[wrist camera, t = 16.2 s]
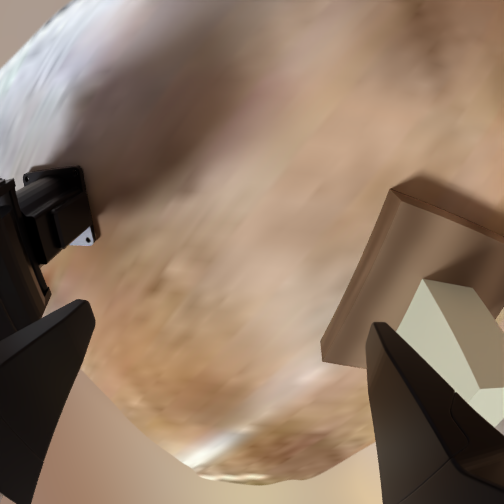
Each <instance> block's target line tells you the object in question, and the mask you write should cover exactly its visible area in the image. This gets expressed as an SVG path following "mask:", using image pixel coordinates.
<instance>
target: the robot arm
mask: <svg viewBox="0 0 504 504" xmlns="http://www.w3.org/2000/svg"><path fill="white" fill-rule="evenodd" d="M75 170H76V171H77V175H76V173H75ZM28 178H29V180H28ZM23 182H24V187H23V188H21V189H20V190H18V191H15V186H16V185H15V181H14V178H13V179H9V180H5V179H2V178H0V501H1V499H2V497H3V495H4V496H5V497H7V498H8V499H10V500H12V501H13V502H15V503H16V504H31V502H32V498H33V495H34V492H35V488H36V485H37V481H38V478H39V475H40V472H41V469H42V466H43V463H44V462H43V461H44V459H45V456H46V453H47V450H48V447H49V445H50V442H51V439H52V436H53V433H54V431H55V428H56V426H57V423H58V420H59V418H60V415H61V413H62V410H63V407H64V405H65V403H66V400H67V398H68V395H69V393H70V390H71V388H72V386H73V383H74V381H75V379H76V376H77V374H78V372H79V370H80V367H81V365H82V362H83V360H84V357H85V354H86V351H87V348H88V345H89V342H90V339H91V336H92V333H93V331H94V328H95V317H94V314H93V311H92V309H91V306H90V303H89V302H88V301H87V300H81V299H77V300H75V301H73V302H71V303H69V304H67V305H65V306H63V307H62V308H60V309H58V310H56V311H54V312H52V313H50V314H49V315H47V316H45V317H43V318H42V315H43V313H44V311H45V308H46V306H47V304H48V301H49V299H50V297H51V291H50V289H49V287H47V285H46V282H45V280H44V277H43V275H42V272H41V270H40V268H41V267H42V266H43V265H44V264H47V263H48V262H49V261H50V260H52V259H53V258H54V257H55V256H56V255H57V254H58V253H59V252H60V251H61V250H62V249H65V248H66V247H67V246H68V245H82V246H91V245H92V244H93V243H94V242H95V240H96V238H95V234H94V229H93V224H92V218H91V213H90V208H89V203H88V197H87V194H86V188H85V182H84V176H83V171H82V168H81V167H80V166H69V167H61V168H53V169H46V170H39V171H33V172H28V173H26V174H24V175H23ZM88 238H90V240H91V241H90V240H89V239H88ZM365 351H366V365H367V382H368V394H369V401H370V407H371V413H372V419H373V426H374V433H375V440H376V447H377V454H378V462H379V470H380V480H381V489H382V500H383V504H504V435H503V434H502V433H500V432H499V431H498V430H497V429H496V428H495V427H494V426H492V425H491V424H490V423H489V422H488V421H486V420H485V419H484V418H483V417H482V416H481V415H480V414H479V413H478V412H476V411H475V410H474V409H473V408H472V407H471V406H470V405H469V404H468V403H467V402H466V401H465V400H464V399H463V398H462V397H461V396H460V395H459V394H458V393H457V392H455V390H454V389H453V388H452V387H451V386H450V385H449V384H448V383H447V382H446V381H445V380H444V379H443V378H442V377H441V376H440V375H439V374H438V373H437V372H436V371H435V370H434V369H433V368H432V367H431V366H430V365H429V364H428V363H427V362H426V361H425V360H424V359H423V358H422V357H421V356H420V355H419V354H418V353H417V352H416V351H415V350H414V349H413V348H412V347H411V346H410V345H409V344H408V343H407V342H406V341H405V340H404V339H403V338H402V337H401V336H400V335H399V334H398V333H397V332H396V331H395V330H394V329H393V328H392V327H390V326H389V325H388V324H387V323H386V322H373V323H372V324H371V326H370V330H369V333H368V337H367V340H366V345H365Z"/></svg>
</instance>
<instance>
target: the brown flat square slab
mask: <svg viewBox="0 0 504 504" xmlns="http://www.w3.org/2000/svg"><path fill="white" fill-rule="evenodd" d="M422 279H427V280H433V281H438V282H443V283H449V284H454V285H460V286H465V287H470V288H473V289H474V290H475V292H476V293H477V295H478V296H479V297H480V299H481V300H482V302H483V303H484V304H485V306H486V307H487V309H488V310H489V312H490V313H491V315H492V316H493V318H494V319H496V318H497V316H498V315H499V313H500V312H501V310H502V309H503V307H504V237H502V236H500V235H498V234H496V233H494V232H492V231H490V230H488V229H486V228H484V227H481V226H479V225H477V224H475V223H473V222H470V221H468V220H466V219H464V218H461V217H459V216H457V215H454V214H452V213H450V212H447V211H445V210H443V209H440V208H438V207H435V206H433V205H430V204H428V203H425V202H423V201H420V200H418V199H415V198H413V197H410V196H407V195H405V194H402V193H400V192H397V191H394V190H391V189H389V192H388V195H387V197H386V200H385V202H384V205H383V207H382V210H381V212H380V215H379V217H378V220H377V222H376V224H375V227H374V229H373V231H372V234H371V236H370V239H369V241H368V243H367V245H366V248H365V250H364V252H363V255H362V257H361V259H360V261H359V263H358V266H357V268H356V270H355V272H354V274H353V277H352V279H351V281H350V283H349V285H348V287H347V289H346V291H345V293H344V295H343V298H342V300H341V302H340V304H339V306H338V308H337V310H336V312H335V314H334V316H333V318H332V320H331V322H330V324H329V326H328V328H327V329H326V331H325V333H324V335H323V337H322V339H321V341H320V342H321V352H322V362H328V363H333V364H339V365H345V366H351V367H357V368H364V369H367V365H366V351H365V345H366V340H367V337H368V333H369V330H370V326H371V324H372V323H373V322H386V323H387V324H388V325H389V326H390V327H392V328H393V329H394V330H395V331H397V329H398V327H399V325H400V323H401V322H402V320H403V318H404V316H405V314H406V312H407V310H408V308H409V306H410V304H411V302H412V299H413V297H414V295H415V293H416V291H417V289H418V287H419V285H420V283H421V280H422Z"/></svg>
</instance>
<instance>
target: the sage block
mask: <svg viewBox="0 0 504 504" xmlns="http://www.w3.org/2000/svg"><path fill="white" fill-rule="evenodd" d="M396 332H397V333H398V334H399V335H400V336H401V337H402V338H403V339H404V340H405V341H406V342H407V343H408V344H409V345H410V346H411V347H412V348H413V349H414V350H415V351H416V352H417V353H418V354H419V355H420V356H421V357H422V358H423V359H424V360H425V361H426V362H427V363H428V364H429V365H430V366H431V367H432V368H433V369H434V370H435V371H436V372H437V373H438V374H439V375H440V376H441V377H442V378H443V379H444V380H445V381H446V382H447V383H448V384H449V385H450V386H451V387H452V388H453V389H454V390H455V392H457V393H458V394H459V395H460V396H461V397H462V398H463V399H464V400H465V401H466V402H467V403H468V404H469V405H470V406H471V407H472V408H473V409H474V410H475V411H476V412H478V413H479V414H480V415H481V416H482V417H483V418H484V419H485V420H486V421H488V422H489V423H490V424H491V425H492V426H494V427H496V426H497V425H498V424H499V423H500V421H501V420H502V419H503V418H504V333H503V331H502V330H501V328H500V327H499V325H498V324H497V322H496V320H495V319H494V318H493V316H492V315H491V313H490V312H489V310H488V309H487V307H486V306H485V304H484V303H483V302H482V300H481V299H480V297H479V296H478V295H477V293H476V292H475V290H474V289H473V288H470V287H465V286H460V285H454V284H449V283H443V282H438V281H433V280H427V279H422V280H421V283H420V285H419V287H418V289H417V291H416V293H415V295H414V297H413V299H412V302H411V304H410V306H409V308H408V310H407V312H406V314H405V316H404V318H403V320H402V322H401V323H400V325H399V327H398V329H397V331H396Z"/></svg>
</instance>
